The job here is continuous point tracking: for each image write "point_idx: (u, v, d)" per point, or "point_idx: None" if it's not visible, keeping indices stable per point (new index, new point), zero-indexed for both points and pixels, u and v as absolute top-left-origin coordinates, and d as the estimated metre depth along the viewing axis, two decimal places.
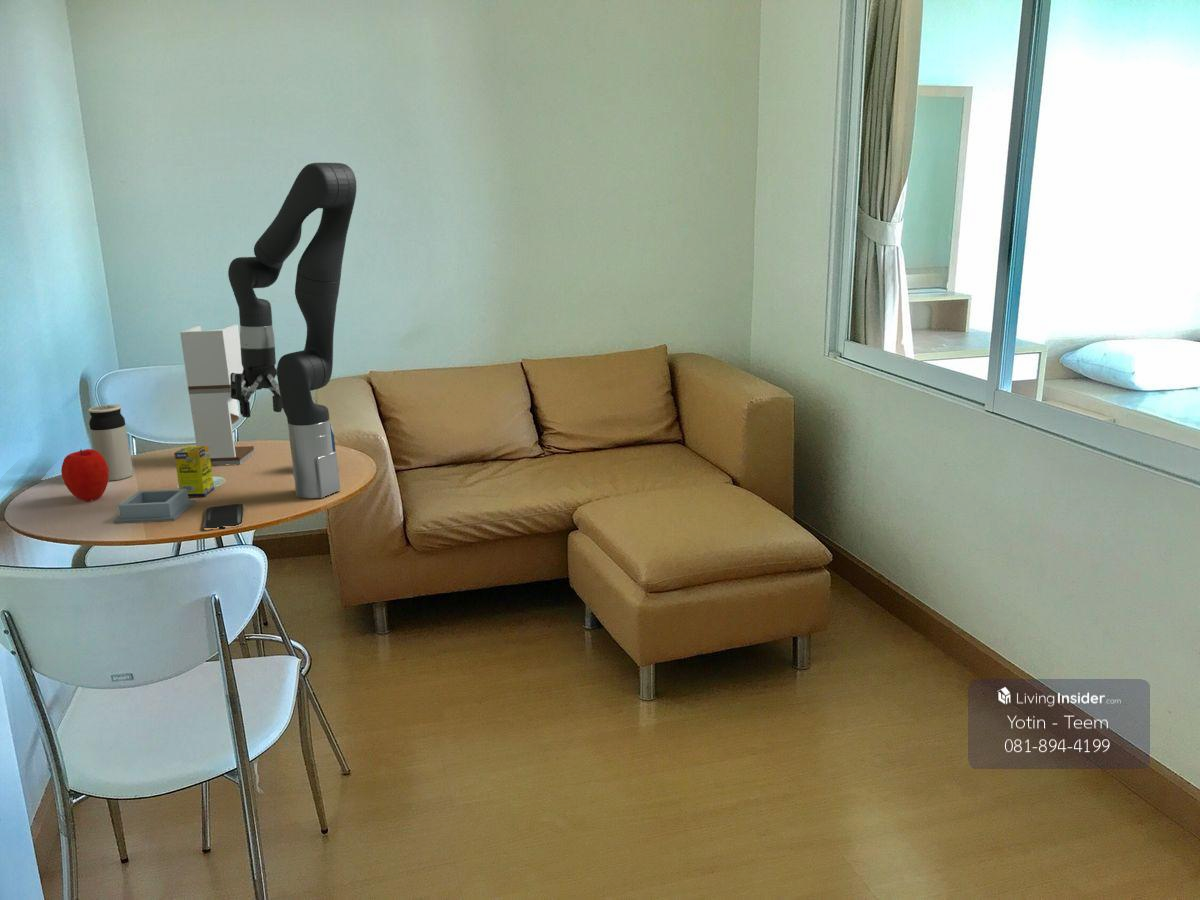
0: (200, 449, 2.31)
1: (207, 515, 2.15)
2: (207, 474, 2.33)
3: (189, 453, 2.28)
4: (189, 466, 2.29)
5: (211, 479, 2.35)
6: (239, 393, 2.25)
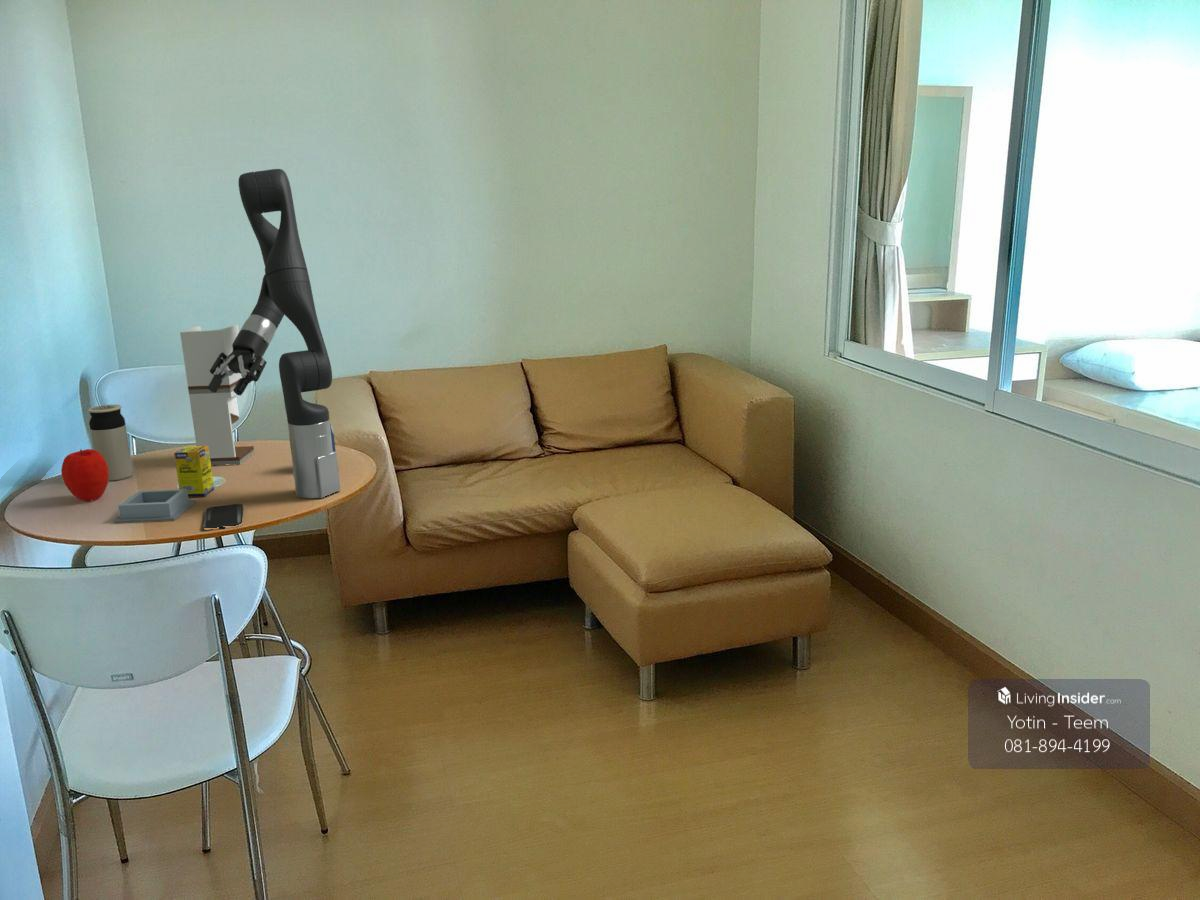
0: (200, 449, 2.31)
1: (207, 515, 2.15)
2: (207, 474, 2.33)
3: (189, 453, 2.28)
4: (189, 466, 2.29)
5: (211, 479, 2.35)
6: (213, 367, 2.42)
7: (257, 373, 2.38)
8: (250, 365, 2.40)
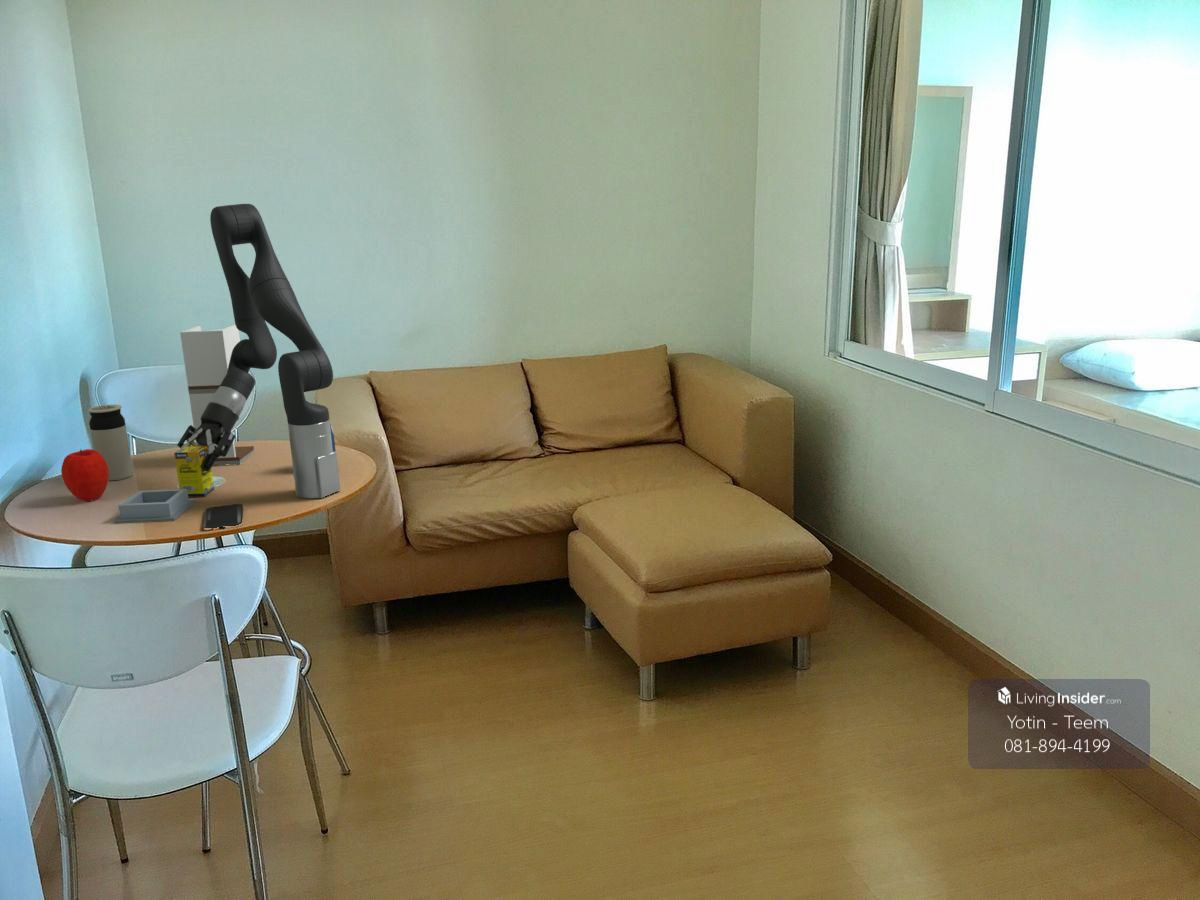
0: (200, 449, 2.31)
1: (207, 515, 2.15)
2: (207, 474, 2.33)
3: (189, 453, 2.28)
4: (189, 466, 2.29)
5: (211, 479, 2.35)
6: (181, 441, 2.36)
7: (225, 448, 2.32)
8: (218, 439, 2.34)
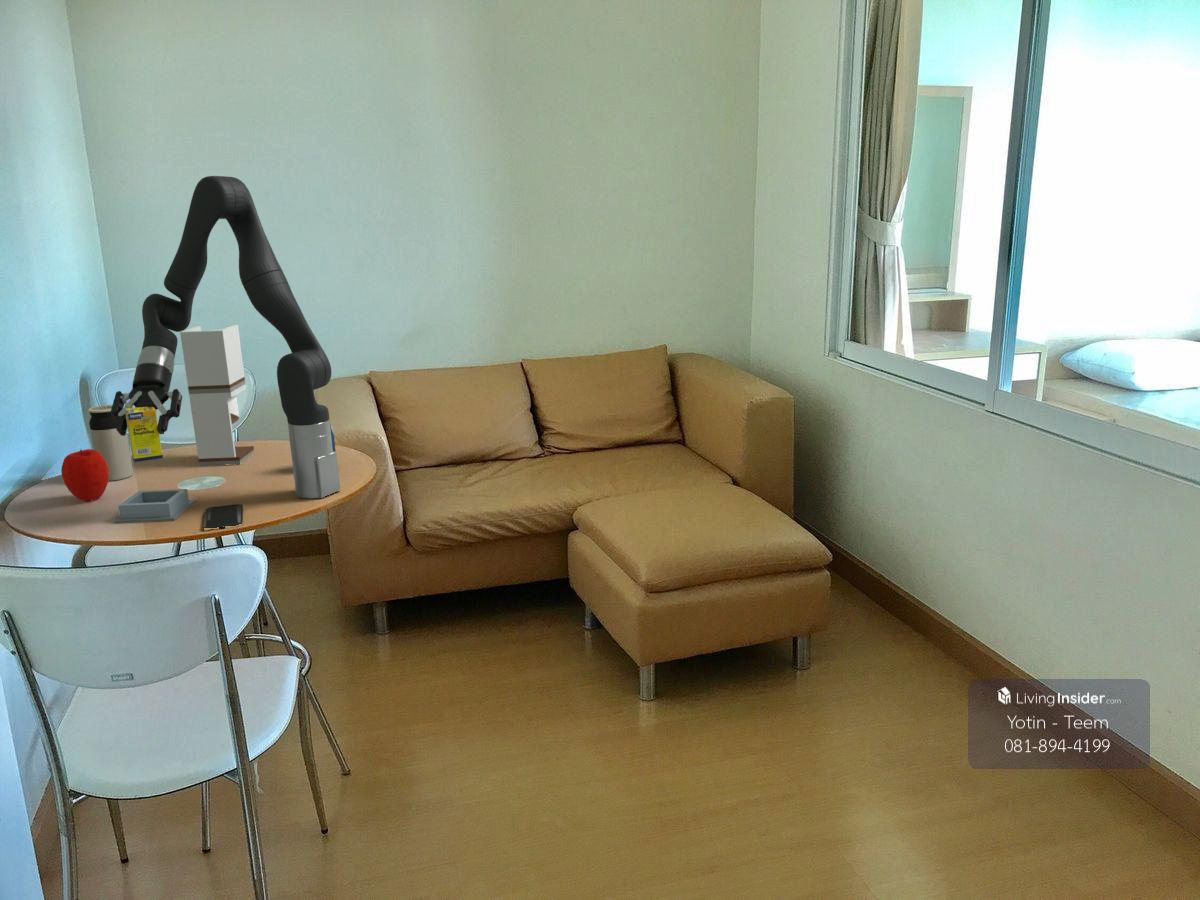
0: (152, 408, 2.15)
1: (207, 515, 2.15)
2: None
3: (144, 412, 2.13)
4: (145, 427, 2.13)
5: None
6: (114, 408, 2.17)
7: (176, 408, 2.19)
8: (162, 401, 2.19)
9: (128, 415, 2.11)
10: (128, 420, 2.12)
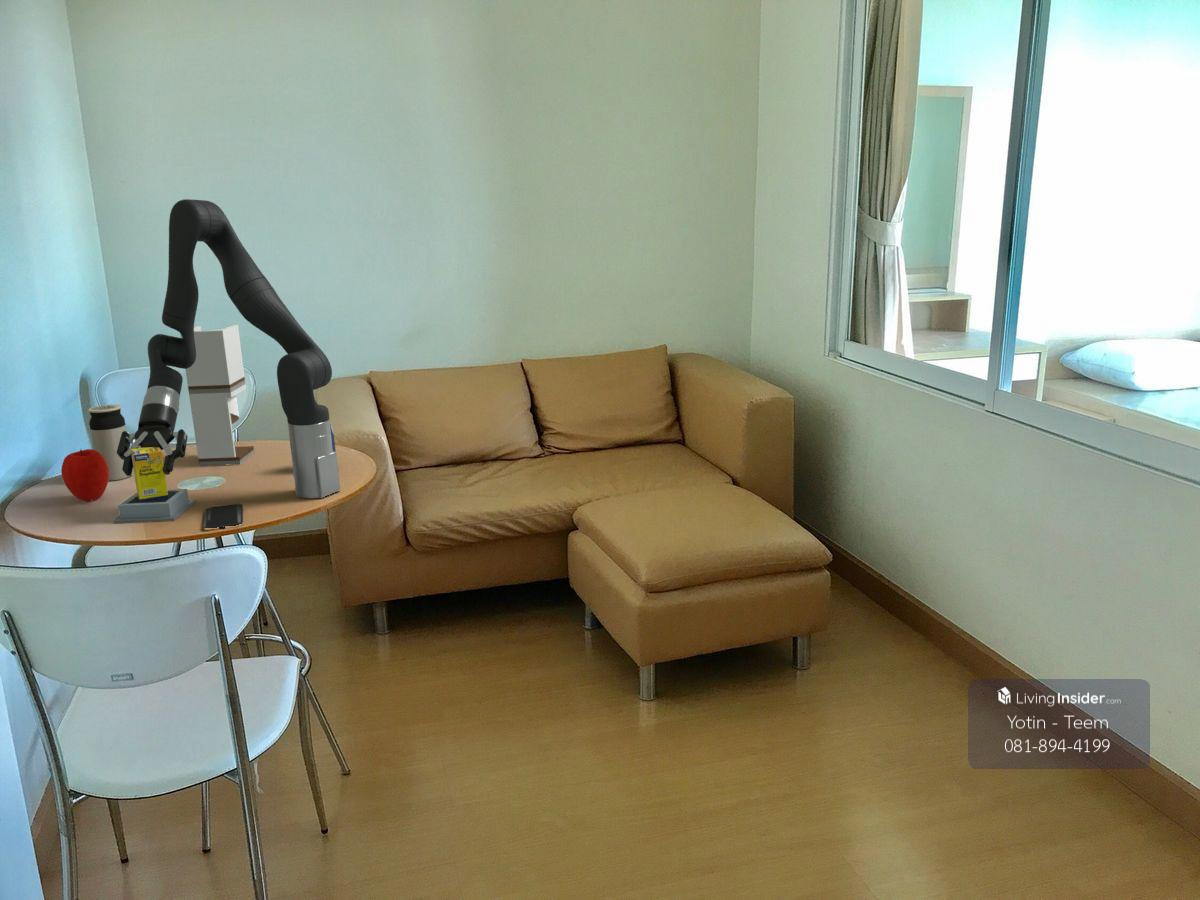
0: (158, 449, 2.18)
1: (207, 515, 2.15)
2: None
3: (151, 453, 2.15)
4: (151, 467, 2.16)
5: None
6: (120, 448, 2.19)
7: (181, 448, 2.21)
8: (168, 441, 2.22)
9: (134, 456, 2.14)
10: (134, 461, 2.14)
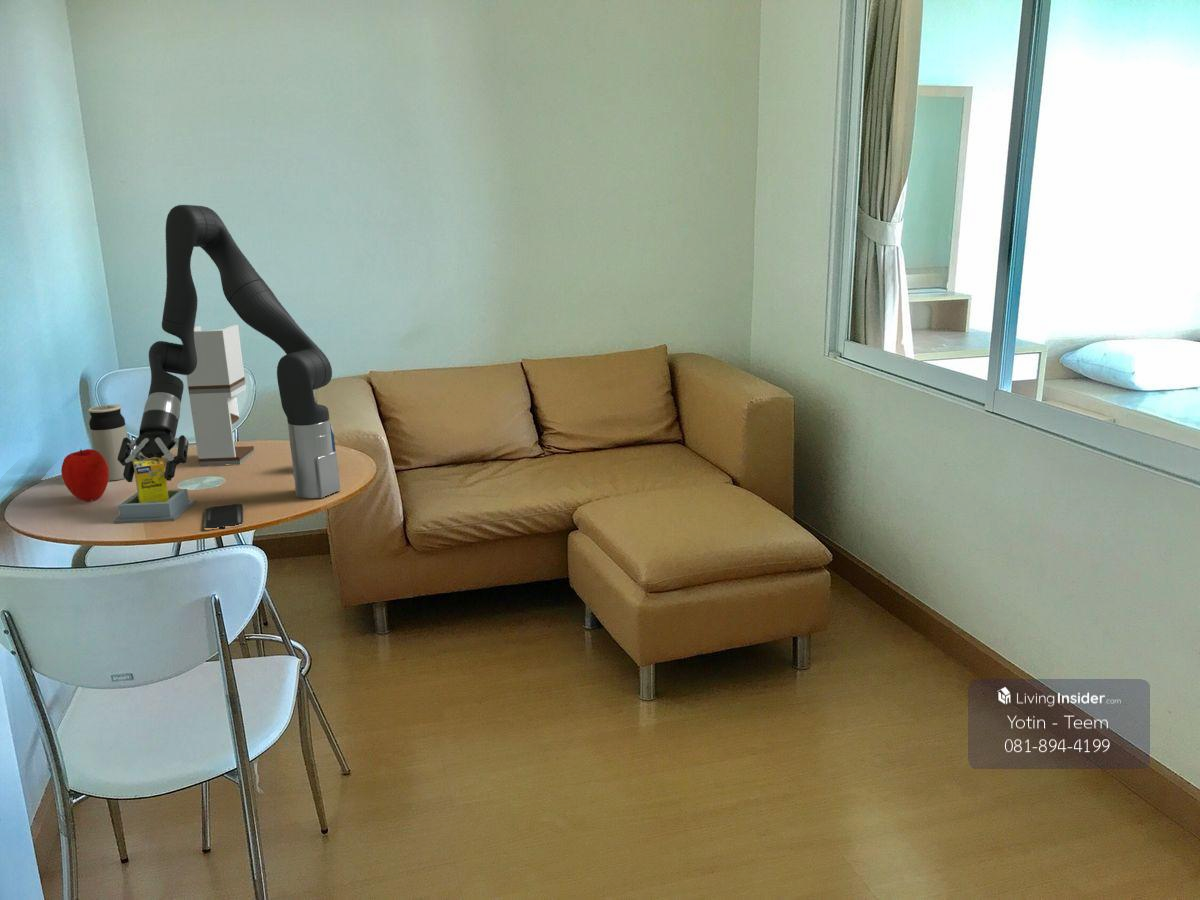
0: (160, 461, 2.19)
1: (207, 515, 2.15)
2: None
3: (152, 466, 2.16)
4: (153, 480, 2.16)
5: None
6: (121, 455, 2.19)
7: (183, 454, 2.21)
8: (169, 447, 2.22)
9: (136, 469, 2.14)
10: (136, 474, 2.15)
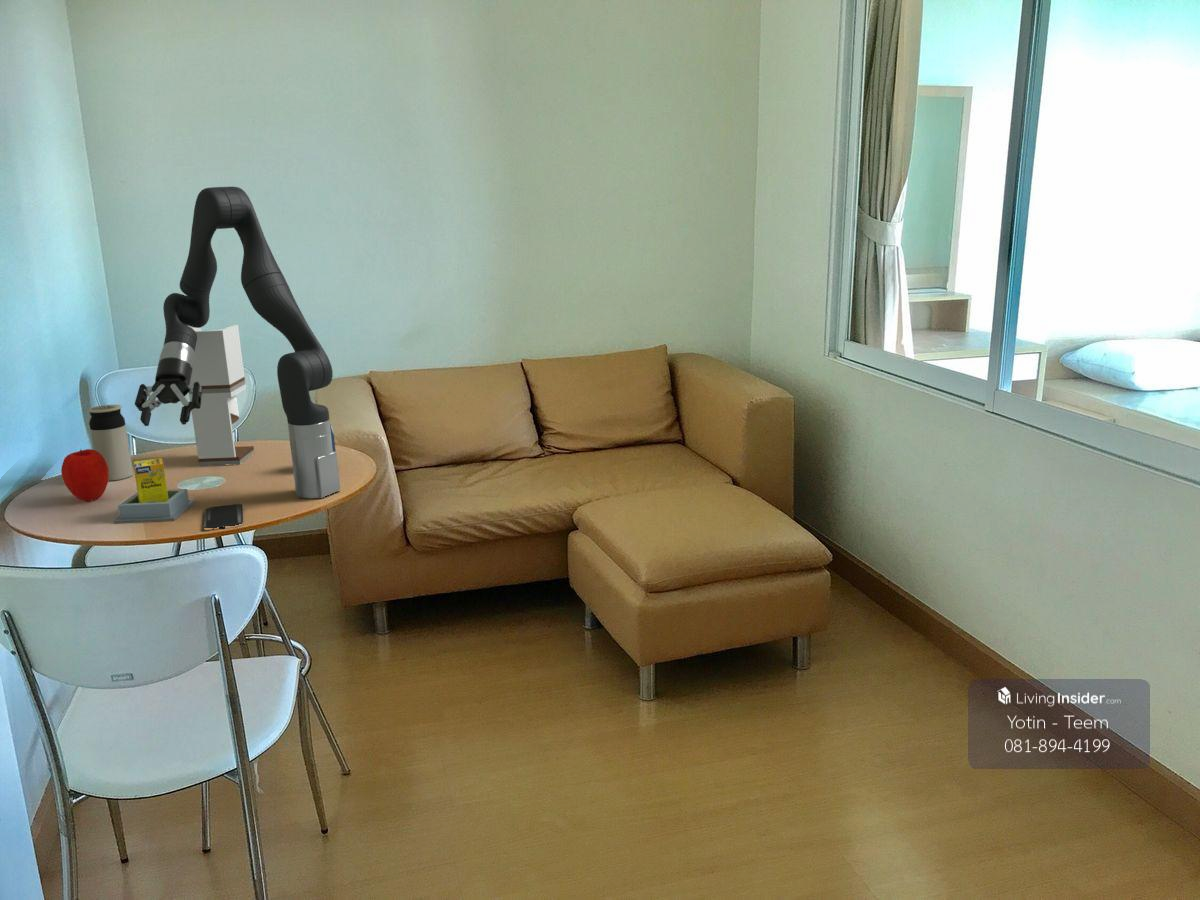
0: (159, 461, 2.19)
1: (207, 515, 2.15)
2: None
3: (152, 466, 2.16)
4: (152, 480, 2.16)
5: None
6: (138, 400, 2.29)
7: (197, 400, 2.31)
8: (184, 393, 2.32)
9: (136, 469, 2.14)
10: (136, 474, 2.15)
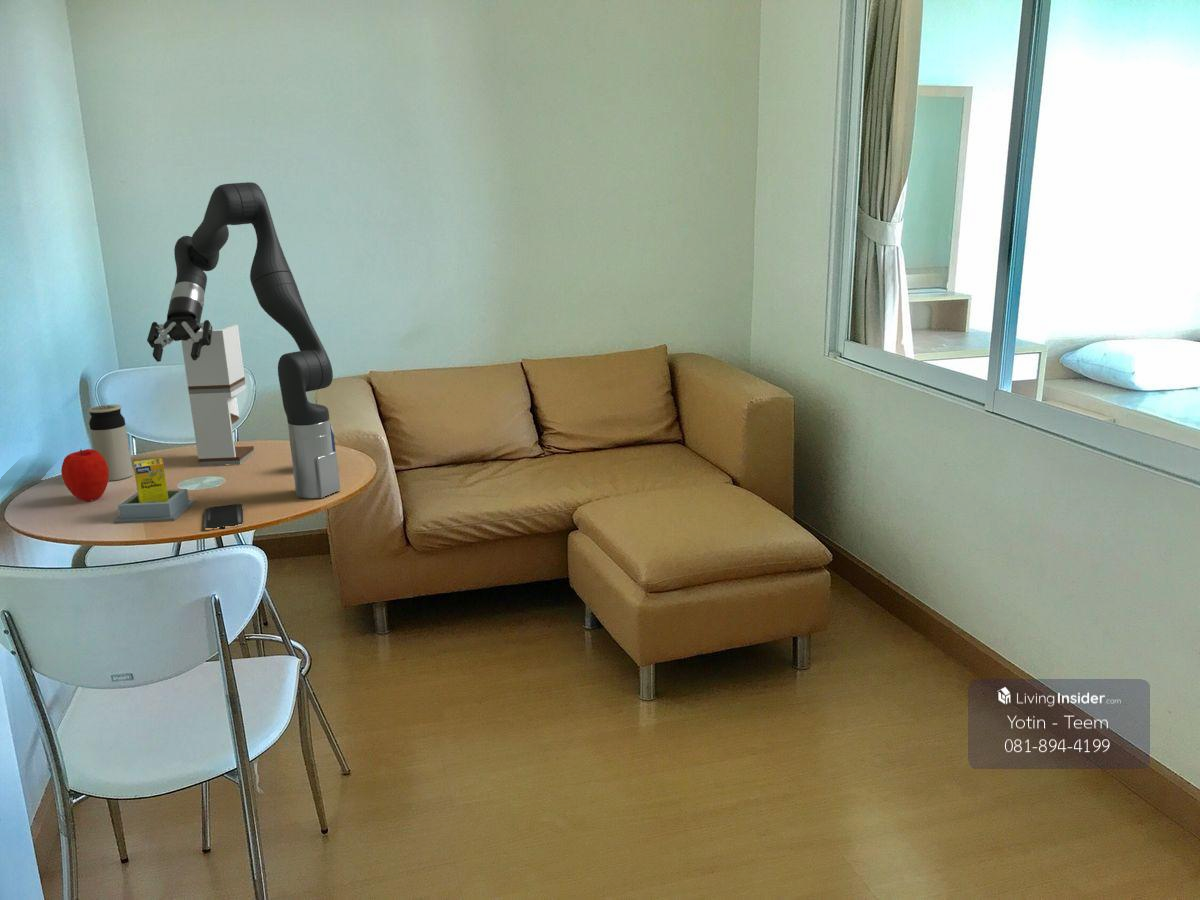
0: (159, 461, 2.19)
1: (207, 515, 2.15)
2: None
3: (152, 466, 2.16)
4: (152, 480, 2.16)
5: None
6: (150, 337, 2.37)
7: (207, 337, 2.39)
8: (194, 331, 2.40)
9: (136, 469, 2.14)
10: (136, 474, 2.15)
